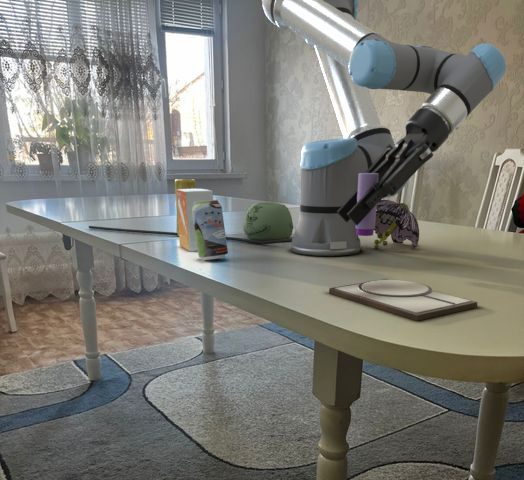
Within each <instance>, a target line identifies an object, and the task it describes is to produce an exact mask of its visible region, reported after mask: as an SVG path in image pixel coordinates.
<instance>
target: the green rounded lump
mask: <svg viewBox="0 0 524 480" xmlns="http://www.w3.org/2000/svg"><path fill="white" fill-rule="evenodd" d="M293 230H294V223H293V217H292V214H291V212H290V210H289V208H288V206H286V205H285V204H283V203H281V202H257V203H254V204H251V205H250V206H249V208H248V210H247V211H246V213H245V216H244V219H243V233H244V236H245V237H246V238H247V239H250V240H257V241H271V240H280V239H290V237H291V236H292V235H293Z"/></svg>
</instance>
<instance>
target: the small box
mask: <svg viewBox="0 0 524 480" xmlns="http://www.w3.org/2000/svg"><path fill="white" fill-rule="evenodd" d="M206 200H214V191H213V190H212V189H211V190H210V189H207V188H196V189H177V203H178V221H179V236H178V238H179V246H180V247H181V248H183V249H185V250H187V251H188V252H198V248H197V242H196V235H195V228H194V222H193V215H192V208H193V206H194V202H199V201H206Z"/></svg>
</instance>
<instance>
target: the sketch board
mask: <svg viewBox="0 0 524 480" xmlns="http://www.w3.org/2000/svg"><path fill="white" fill-rule="evenodd" d="M328 289H329V290H328V293H329V294H331V295H334V296H337V297H341V298H343V299H345V300H346V299H347V300H350V301H352V302H355V303H360V304H362V305H364V306H365V305H366V306H368V307H372V308H375V309H378V310H382V311H383V312H388V313H391V314H393V315H397V316H400V317H403V318H406V319H410V320H413V321H416V322H419V321H424V320H428V319H431V318H432V319H433V318H436V317H440V316H444V315H450V314H454V313H459V312H462V311H467V310H472V309H476V308H478V303H479V302H478V301H475V300H471V299H467V298H464V297H459V296H455V295H451V294H448V293H444V292H439V291H435V290H433V288H432V287H431V286H429V285H427V284H424V283H420V282H417V281H410V280H403V279H402V280H401V279H388V278H382V279H377V280H375V279H374V280H369V281H368V280H367V281H364V282H359V283H352V284H345V285H341V286H335V287H329V288H328Z"/></svg>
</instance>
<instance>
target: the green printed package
mask: <svg viewBox="0 0 524 480" xmlns="http://www.w3.org/2000/svg"><path fill="white" fill-rule="evenodd" d="M192 215H193V222H194V228H195V235H196V242H197V248H198V251H197V254H198V257H199V258H201V259H202V260H203V261H210V260H217V259H223V258H225V257H226V255H227V254H228V253H229V250H228V244H227V240H226V237H227V236H226V235H227V234H226V229H225V228H226V227H225V220H224V214H223V207H222V205H221V203H220V202H219V199H213V200H206V201H199V202H194V206H193V208H192Z"/></svg>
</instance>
